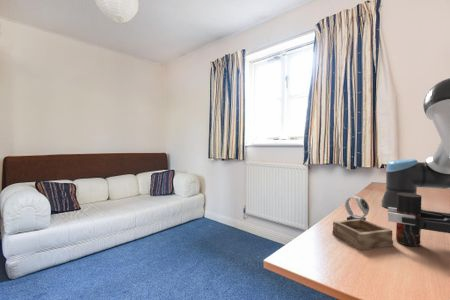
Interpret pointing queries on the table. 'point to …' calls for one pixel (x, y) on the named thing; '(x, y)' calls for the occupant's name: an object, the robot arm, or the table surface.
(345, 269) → the table surface
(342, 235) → the crate
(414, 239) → the deodorant
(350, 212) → the watch
